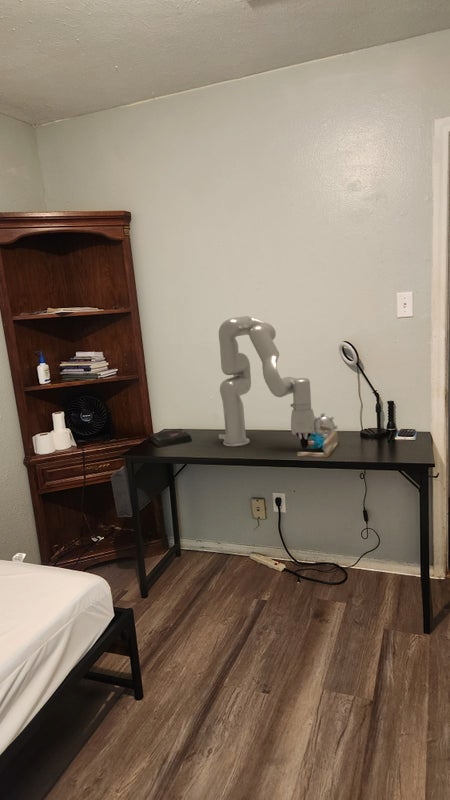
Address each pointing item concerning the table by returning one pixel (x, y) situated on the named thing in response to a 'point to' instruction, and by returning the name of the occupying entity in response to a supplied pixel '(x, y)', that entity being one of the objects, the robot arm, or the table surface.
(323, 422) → the gear
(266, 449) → the table surface
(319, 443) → the blue spiky oval
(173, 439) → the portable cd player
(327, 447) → the gear bay
